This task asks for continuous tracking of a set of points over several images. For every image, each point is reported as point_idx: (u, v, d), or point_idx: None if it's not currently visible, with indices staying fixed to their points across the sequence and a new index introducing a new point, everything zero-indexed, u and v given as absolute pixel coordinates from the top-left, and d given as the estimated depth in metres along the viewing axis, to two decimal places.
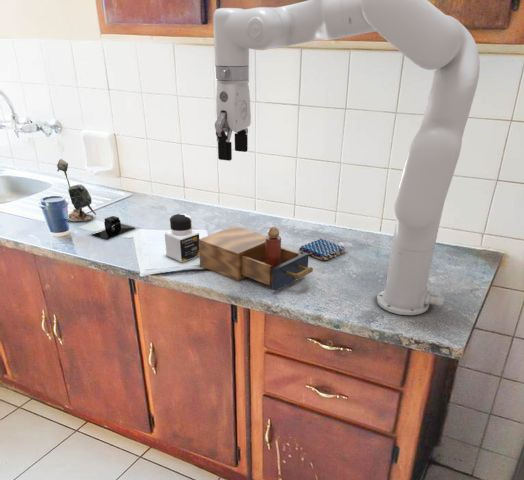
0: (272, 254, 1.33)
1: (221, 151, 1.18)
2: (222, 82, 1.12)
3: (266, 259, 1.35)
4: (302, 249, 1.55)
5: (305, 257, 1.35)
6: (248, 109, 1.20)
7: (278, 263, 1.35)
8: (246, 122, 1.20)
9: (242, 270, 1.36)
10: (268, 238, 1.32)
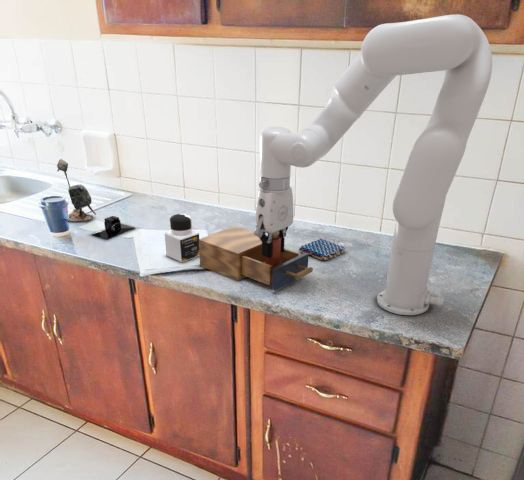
0: None
1: (263, 249, 1.32)
2: (262, 190, 1.24)
3: (266, 259, 1.35)
4: (302, 249, 1.55)
5: (305, 257, 1.35)
6: (289, 211, 1.29)
7: (278, 263, 1.35)
8: (285, 223, 1.30)
9: (242, 270, 1.36)
10: None
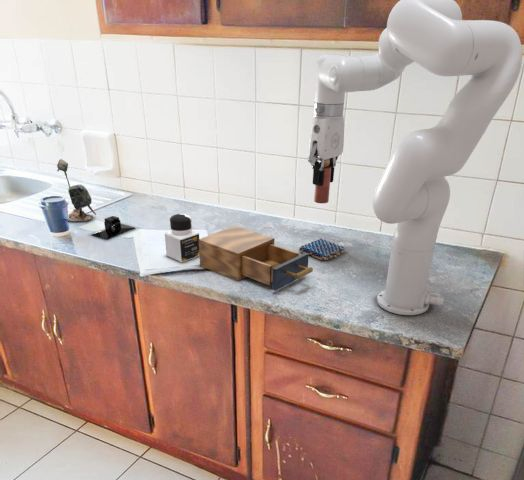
0: None
1: (315, 177, 1.38)
2: (317, 116, 1.30)
3: (316, 188, 1.41)
4: (302, 249, 1.55)
5: (305, 257, 1.35)
6: (341, 140, 1.36)
7: (327, 192, 1.41)
8: (337, 151, 1.36)
9: (242, 270, 1.36)
10: None
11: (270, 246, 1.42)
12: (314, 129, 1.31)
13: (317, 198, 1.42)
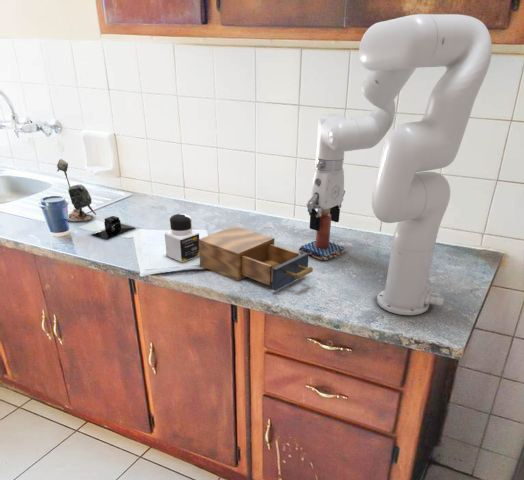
0: (323, 230, 1.49)
1: (311, 223, 1.45)
2: (319, 171, 1.39)
3: (317, 235, 1.50)
4: (302, 249, 1.55)
5: (305, 257, 1.35)
6: (341, 190, 1.45)
7: (328, 238, 1.51)
8: (337, 201, 1.45)
9: (242, 270, 1.36)
10: (320, 215, 1.48)
11: (270, 246, 1.42)
12: (316, 182, 1.40)
13: (318, 243, 1.51)
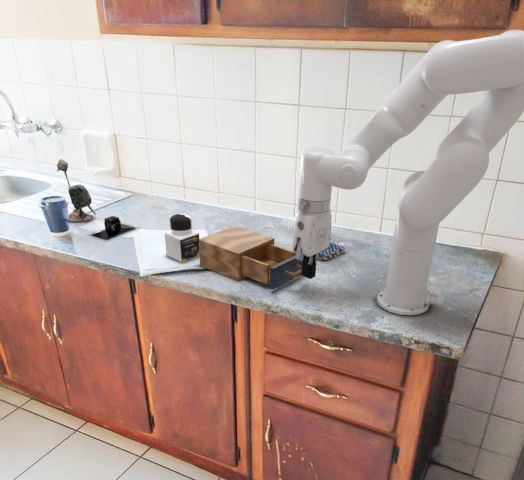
0: None
1: (303, 270, 1.28)
2: (301, 212, 1.19)
3: None
4: None
5: None
6: (327, 234, 1.24)
7: None
8: (323, 245, 1.25)
9: None
10: None
11: (268, 245, 1.42)
12: (298, 225, 1.20)
13: None
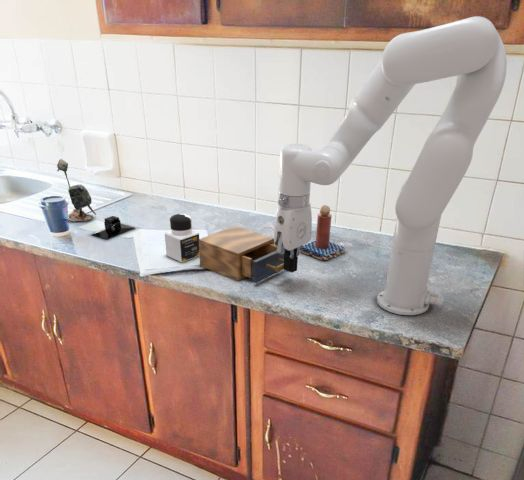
0: (323, 230, 1.49)
1: (285, 264, 1.31)
2: (281, 207, 1.22)
3: (317, 235, 1.50)
4: (302, 249, 1.55)
5: None
6: (308, 228, 1.28)
7: (328, 238, 1.51)
8: (304, 239, 1.28)
9: None
10: (320, 215, 1.48)
11: None
12: (278, 219, 1.23)
13: (318, 243, 1.51)
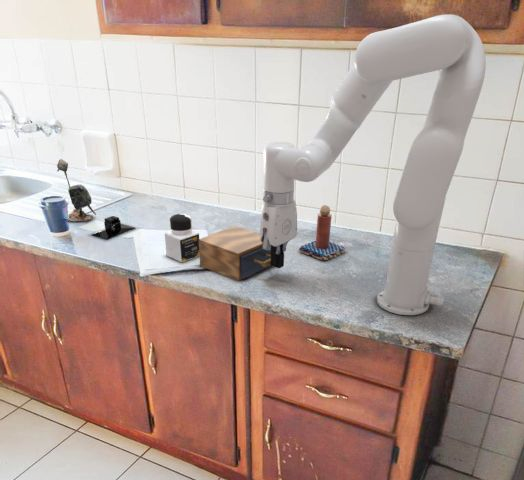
0: (323, 230, 1.49)
1: (272, 260, 1.34)
2: (266, 204, 1.25)
3: (317, 235, 1.50)
4: (302, 249, 1.55)
5: None
6: (293, 224, 1.30)
7: (328, 238, 1.51)
8: (290, 236, 1.31)
9: None
10: (320, 215, 1.48)
11: None
12: (264, 216, 1.26)
13: (318, 243, 1.51)
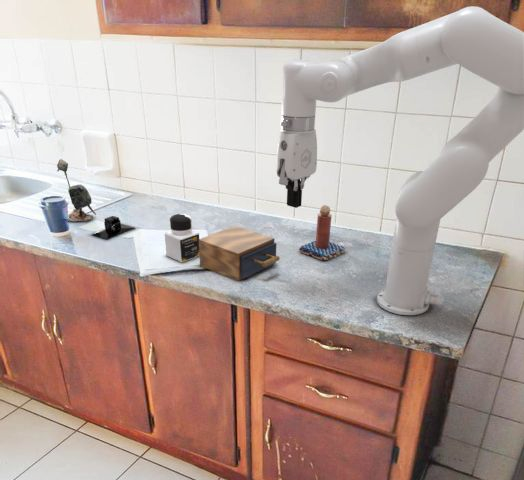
0: (323, 230, 1.49)
1: (289, 198, 1.22)
2: (284, 131, 1.13)
3: (317, 235, 1.50)
4: (302, 249, 1.55)
5: (273, 246, 1.41)
6: (313, 157, 1.18)
7: (328, 238, 1.51)
8: (309, 170, 1.19)
9: None
10: (320, 215, 1.48)
11: None
12: (281, 145, 1.14)
13: (318, 243, 1.51)
